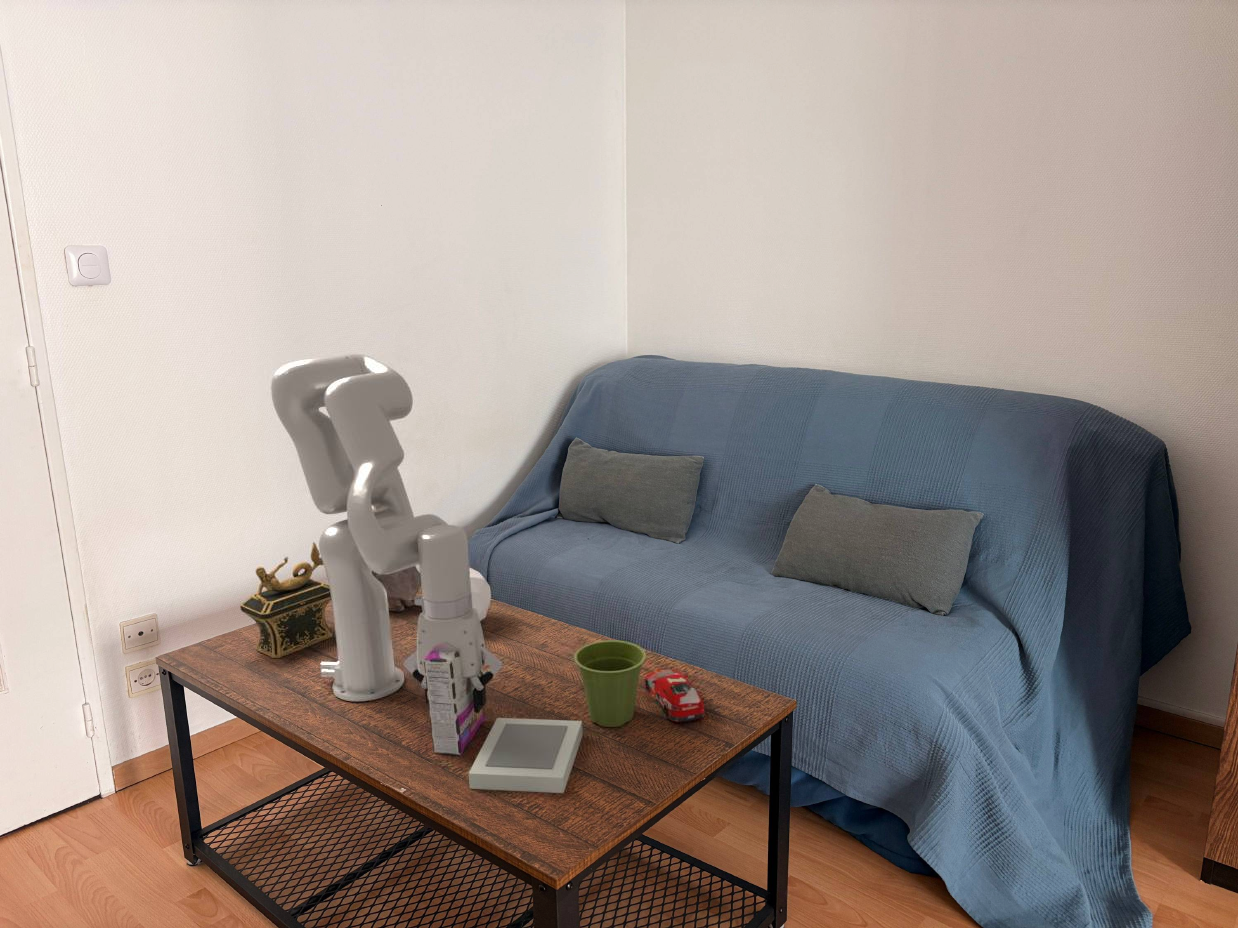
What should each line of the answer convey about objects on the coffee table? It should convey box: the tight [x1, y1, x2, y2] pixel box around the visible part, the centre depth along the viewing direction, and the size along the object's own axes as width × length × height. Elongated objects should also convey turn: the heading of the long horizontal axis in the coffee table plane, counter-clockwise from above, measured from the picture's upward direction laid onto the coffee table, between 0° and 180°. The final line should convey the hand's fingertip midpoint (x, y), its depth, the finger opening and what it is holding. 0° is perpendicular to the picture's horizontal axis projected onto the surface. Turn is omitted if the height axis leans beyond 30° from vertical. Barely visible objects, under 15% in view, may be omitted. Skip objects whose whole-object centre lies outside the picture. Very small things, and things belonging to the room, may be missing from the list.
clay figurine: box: [371, 507, 422, 613], centre depth 199 cm, size 13×10×25 cm
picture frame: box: [468, 717, 584, 794], centre depth 140 cm, size 14×16×3 cm
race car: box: [644, 668, 705, 723], centre depth 156 cm, size 16×7×5 cm, turn 16°
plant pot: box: [573, 639, 647, 728], centre depth 151 cm, size 12×12×11 cm
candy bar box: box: [424, 651, 485, 756], centre depth 146 cm, size 11×5×16 cm, turn 168°
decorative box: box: [239, 541, 334, 659], centre depth 185 cm, size 20×10×20 cm, turn 140°
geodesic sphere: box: [469, 566, 492, 622], centre depth 190 cm, size 14×14×14 cm
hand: (456, 707), depth 147 cm, fingers open, 6 cm apart
